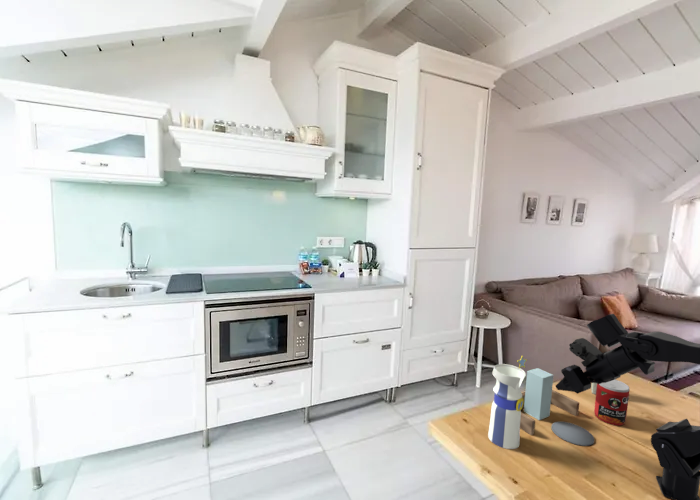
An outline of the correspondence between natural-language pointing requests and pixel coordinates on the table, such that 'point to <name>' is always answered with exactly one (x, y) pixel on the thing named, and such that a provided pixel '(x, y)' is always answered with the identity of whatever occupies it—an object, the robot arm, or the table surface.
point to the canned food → (612, 402)
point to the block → (538, 393)
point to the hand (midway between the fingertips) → (566, 384)
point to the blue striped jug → (507, 405)
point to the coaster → (572, 433)
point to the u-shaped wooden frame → (556, 400)
